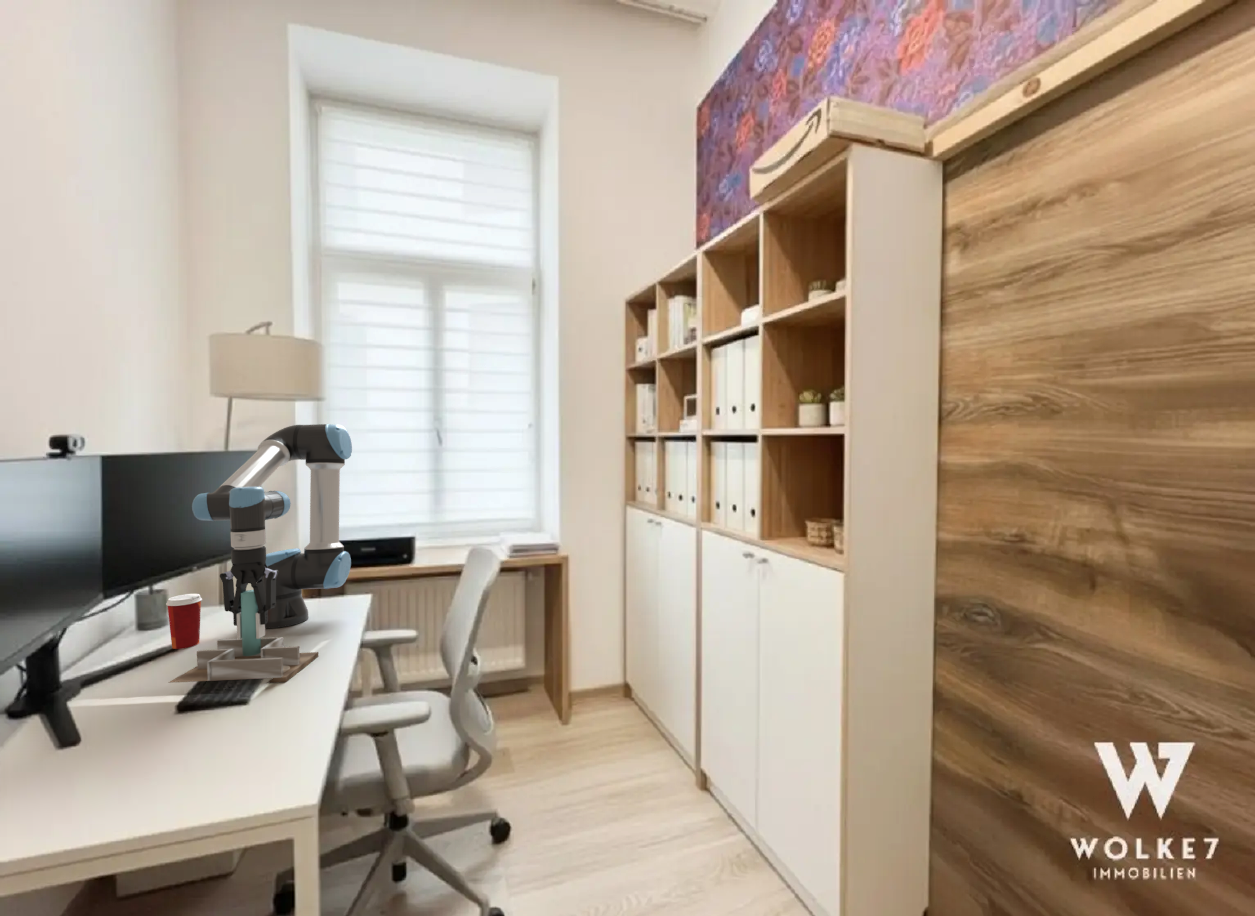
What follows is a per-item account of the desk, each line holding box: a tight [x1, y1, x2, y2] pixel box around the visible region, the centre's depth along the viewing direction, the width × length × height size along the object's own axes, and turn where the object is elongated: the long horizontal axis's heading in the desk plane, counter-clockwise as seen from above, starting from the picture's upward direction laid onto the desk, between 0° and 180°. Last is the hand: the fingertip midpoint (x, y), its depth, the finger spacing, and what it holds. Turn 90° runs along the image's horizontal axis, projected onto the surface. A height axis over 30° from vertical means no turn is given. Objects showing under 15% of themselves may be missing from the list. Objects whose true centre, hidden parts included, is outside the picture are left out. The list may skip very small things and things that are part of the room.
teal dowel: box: [241, 589, 262, 656], centre depth 149 cm, size 4×4×16 cm
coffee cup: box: [165, 593, 203, 650], centre depth 164 cm, size 8×8×15 cm
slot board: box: [168, 636, 319, 684], centre depth 147 cm, size 17×27×6 cm, turn 94°
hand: (251, 637), depth 149 cm, fingers closed on teal dowel, 4 cm apart
